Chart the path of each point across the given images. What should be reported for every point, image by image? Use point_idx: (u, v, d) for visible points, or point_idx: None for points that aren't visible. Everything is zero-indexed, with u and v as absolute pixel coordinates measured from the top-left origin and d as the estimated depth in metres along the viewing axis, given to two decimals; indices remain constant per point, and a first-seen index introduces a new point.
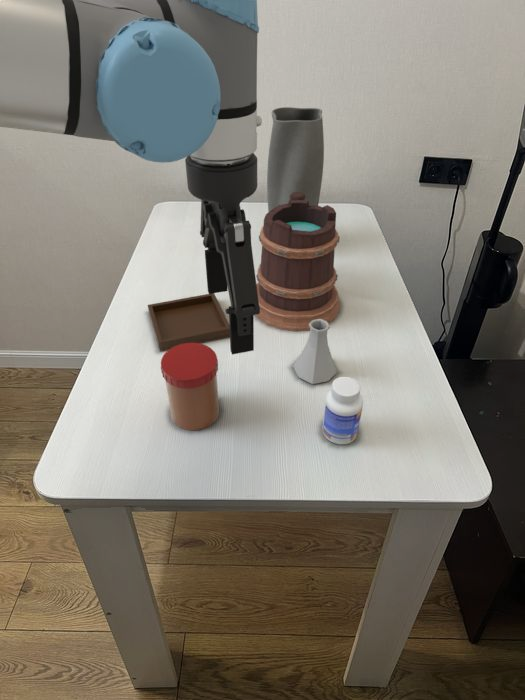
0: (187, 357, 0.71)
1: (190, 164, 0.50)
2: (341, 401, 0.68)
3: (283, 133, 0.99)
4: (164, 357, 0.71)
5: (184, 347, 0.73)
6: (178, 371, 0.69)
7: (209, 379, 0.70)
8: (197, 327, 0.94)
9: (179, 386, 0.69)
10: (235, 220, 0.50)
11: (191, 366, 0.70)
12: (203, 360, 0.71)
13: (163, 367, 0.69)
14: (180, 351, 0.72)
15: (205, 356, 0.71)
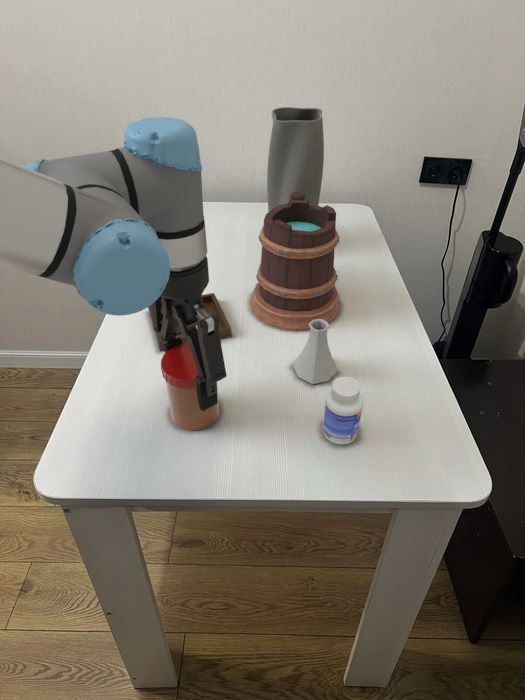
0: (187, 357, 0.71)
1: None
2: (341, 401, 0.68)
3: (283, 133, 0.99)
4: (164, 357, 0.71)
5: (184, 347, 0.73)
6: (178, 371, 0.69)
7: None
8: None
9: (179, 386, 0.69)
10: None
11: (191, 366, 0.70)
12: None
13: (163, 367, 0.69)
14: (180, 351, 0.72)
15: None
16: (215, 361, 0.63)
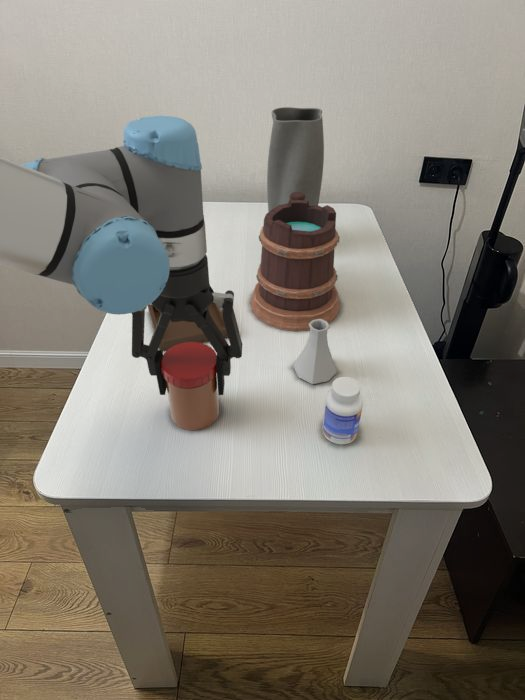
0: (184, 358, 0.71)
1: None
2: (341, 401, 0.68)
3: (283, 133, 0.99)
4: (167, 371, 0.69)
5: (170, 354, 0.71)
6: (194, 371, 0.69)
7: None
8: (197, 327, 0.94)
9: (204, 382, 0.69)
10: None
11: (198, 361, 0.70)
12: (199, 352, 0.72)
13: (179, 376, 0.68)
14: (172, 359, 0.71)
15: (196, 348, 0.72)
16: (238, 334, 0.68)
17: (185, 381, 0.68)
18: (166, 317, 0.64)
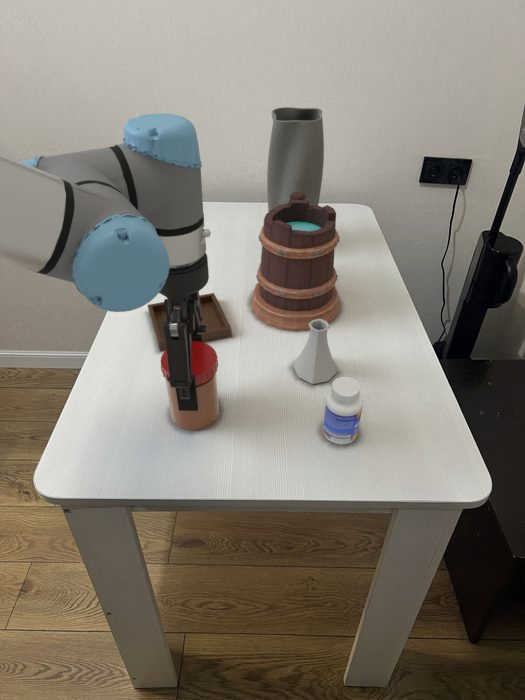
0: None
1: None
2: (341, 401, 0.68)
3: (283, 133, 0.99)
4: (204, 371, 0.68)
5: None
6: (206, 353, 0.71)
7: None
8: None
9: None
10: (175, 317, 0.59)
11: (192, 352, 0.72)
12: None
13: (213, 363, 0.70)
14: None
15: None
16: None
17: (217, 361, 0.71)
18: (193, 317, 0.63)
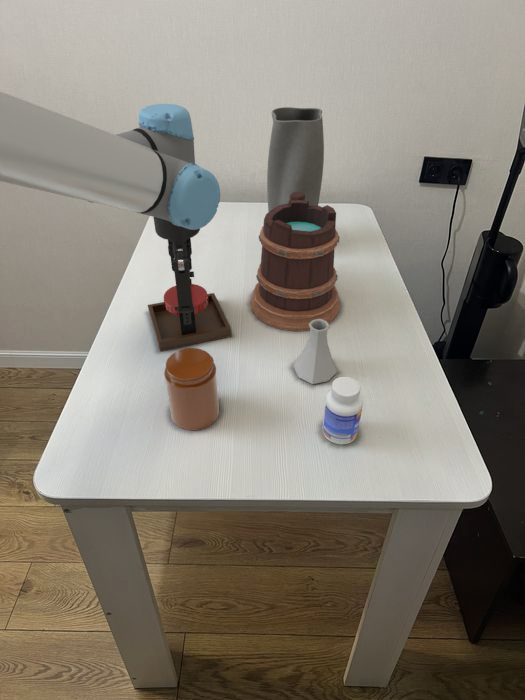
0: None
1: None
2: (341, 401, 0.68)
3: (283, 133, 0.99)
4: (200, 302, 0.89)
5: None
6: (198, 291, 0.92)
7: None
8: (197, 327, 0.94)
9: None
10: (180, 256, 0.80)
11: None
12: (176, 292, 0.92)
13: (205, 296, 0.91)
14: None
15: (172, 294, 0.91)
16: None
17: (207, 296, 0.92)
18: (190, 258, 0.84)
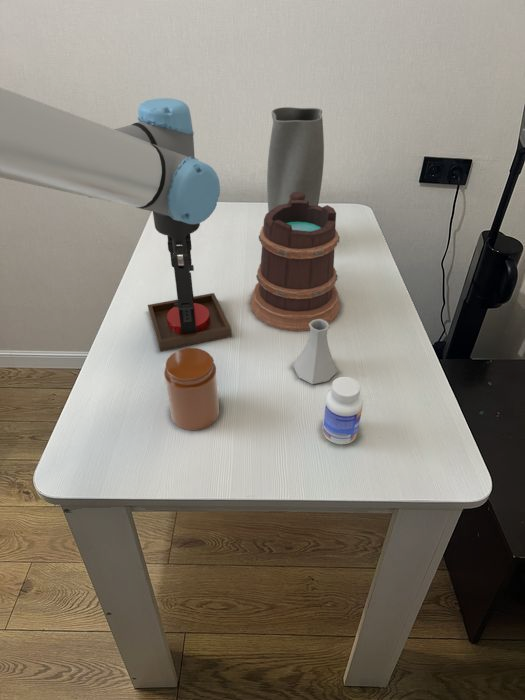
0: None
1: (154, 211, 0.79)
2: (341, 401, 0.68)
3: (283, 133, 0.99)
4: (202, 321, 0.92)
5: None
6: (200, 310, 0.95)
7: None
8: None
9: None
10: (180, 251, 0.79)
11: None
12: None
13: (207, 315, 0.94)
14: None
15: (175, 313, 0.94)
16: None
17: (209, 315, 0.95)
18: (190, 254, 0.84)
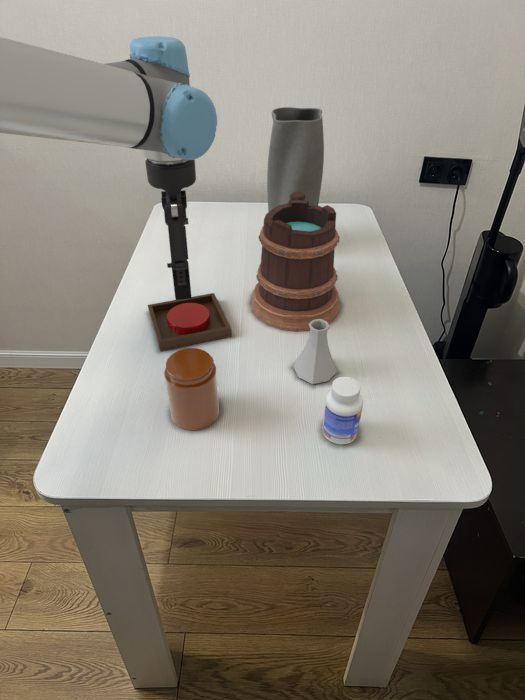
0: (187, 316, 0.93)
1: (147, 163, 0.74)
2: (341, 401, 0.68)
3: (283, 133, 0.99)
4: (202, 321, 0.92)
5: (183, 324, 0.92)
6: (200, 310, 0.95)
7: None
8: None
9: None
10: (174, 202, 0.74)
11: (190, 310, 0.95)
12: (179, 311, 0.95)
13: (207, 315, 0.94)
14: (188, 322, 0.92)
15: (175, 313, 0.94)
16: None
17: (209, 315, 0.95)
18: (185, 211, 0.78)
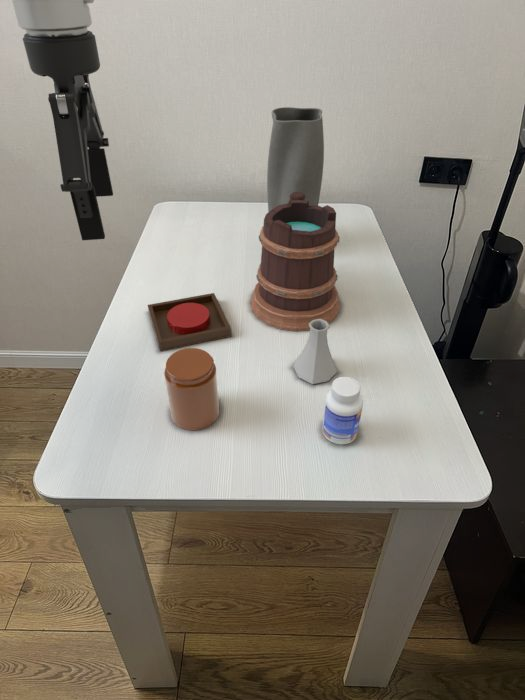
0: (187, 316, 0.93)
1: (24, 37, 0.52)
2: (341, 401, 0.68)
3: (283, 133, 0.99)
4: (202, 321, 0.92)
5: (183, 324, 0.92)
6: (200, 310, 0.95)
7: None
8: None
9: None
10: None
11: (190, 310, 0.95)
12: (179, 311, 0.95)
13: (207, 315, 0.94)
14: (188, 322, 0.92)
15: (175, 313, 0.94)
16: None
17: (209, 315, 0.95)
18: (87, 113, 0.56)
